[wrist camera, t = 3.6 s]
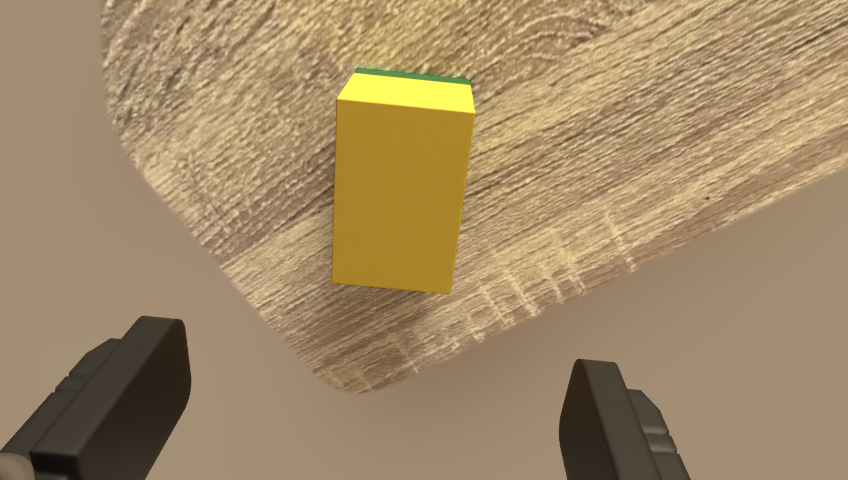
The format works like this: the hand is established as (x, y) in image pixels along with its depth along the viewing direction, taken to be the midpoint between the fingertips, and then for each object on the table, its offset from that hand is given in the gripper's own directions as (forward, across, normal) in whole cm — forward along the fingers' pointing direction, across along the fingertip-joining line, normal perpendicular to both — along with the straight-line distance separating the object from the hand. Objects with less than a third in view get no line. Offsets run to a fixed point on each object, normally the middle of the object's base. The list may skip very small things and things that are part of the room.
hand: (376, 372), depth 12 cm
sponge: (+14, 0, 0) cm, 14 cm away
